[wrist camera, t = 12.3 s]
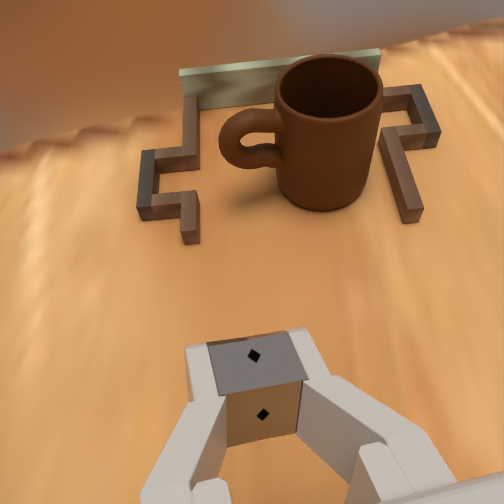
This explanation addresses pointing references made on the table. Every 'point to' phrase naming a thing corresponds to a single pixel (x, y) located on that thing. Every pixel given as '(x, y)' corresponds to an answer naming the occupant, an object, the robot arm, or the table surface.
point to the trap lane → (263, 91)
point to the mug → (314, 130)
